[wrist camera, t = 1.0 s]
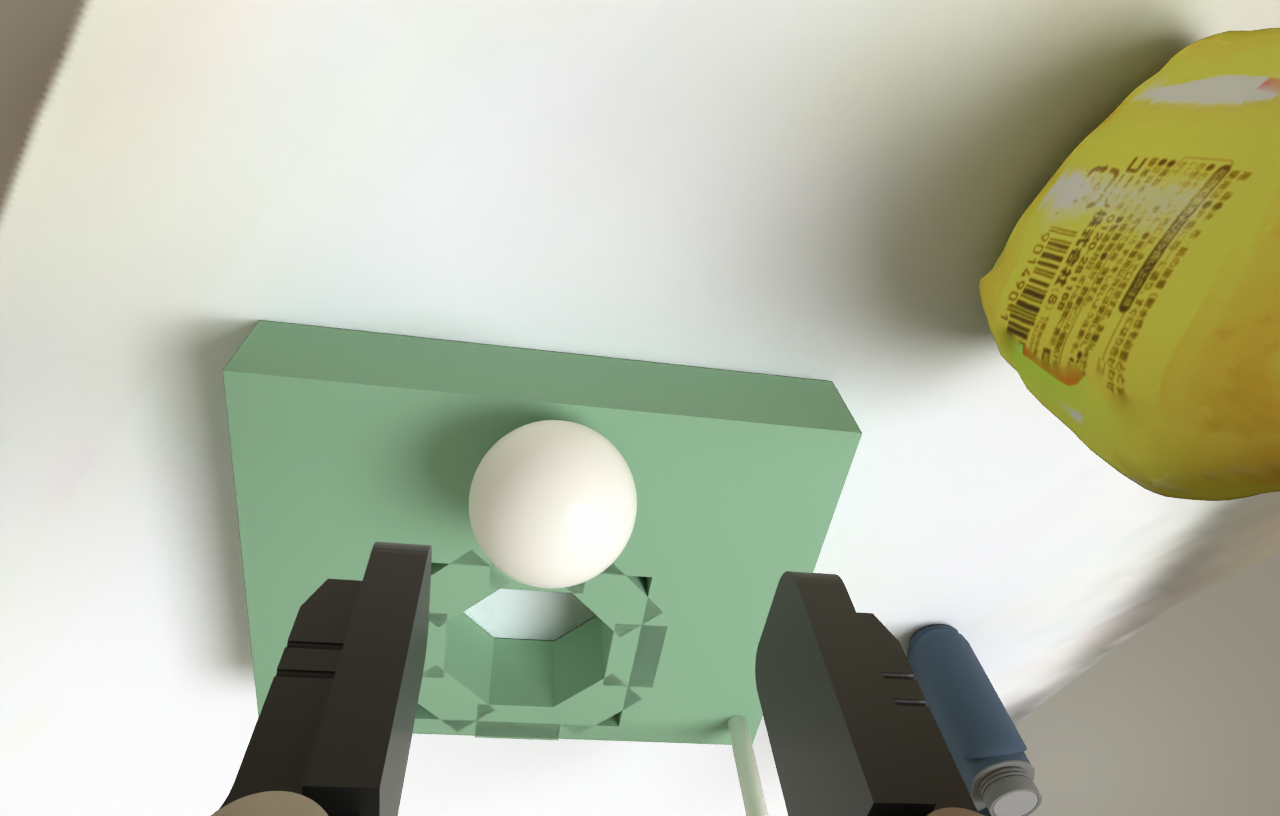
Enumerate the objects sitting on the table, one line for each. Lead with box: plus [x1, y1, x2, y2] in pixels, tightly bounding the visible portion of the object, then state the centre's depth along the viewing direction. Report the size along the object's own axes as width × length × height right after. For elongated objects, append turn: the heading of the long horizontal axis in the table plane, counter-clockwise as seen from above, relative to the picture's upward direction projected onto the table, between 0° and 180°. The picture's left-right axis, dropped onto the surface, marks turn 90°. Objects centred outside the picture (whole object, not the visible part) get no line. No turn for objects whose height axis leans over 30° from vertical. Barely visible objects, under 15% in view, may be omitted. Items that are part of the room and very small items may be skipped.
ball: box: [469, 420, 637, 589], centre depth 25 cm, size 5×5×5 cm
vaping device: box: [908, 625, 1042, 816], centre depth 34 cm, size 3×5×12 cm, turn 7°
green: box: [223, 320, 862, 816], centre depth 26 cm, size 16×20×16 cm
